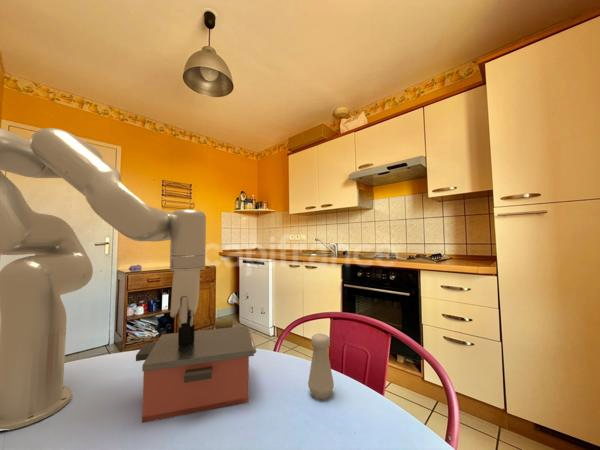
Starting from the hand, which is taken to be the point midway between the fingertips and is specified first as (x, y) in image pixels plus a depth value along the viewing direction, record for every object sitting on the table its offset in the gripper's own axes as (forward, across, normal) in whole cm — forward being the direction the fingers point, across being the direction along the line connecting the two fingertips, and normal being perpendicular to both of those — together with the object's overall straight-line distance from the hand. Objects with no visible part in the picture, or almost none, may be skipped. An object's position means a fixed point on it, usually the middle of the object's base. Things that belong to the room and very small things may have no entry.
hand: (186, 343), depth 57 cm
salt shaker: (+12, +9, +29) cm, 33 cm away
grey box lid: (+1, 0, +3) cm, 3 cm away
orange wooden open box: (+11, 0, +3) cm, 12 cm away
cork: (+12, -17, +8) cm, 22 cm away
